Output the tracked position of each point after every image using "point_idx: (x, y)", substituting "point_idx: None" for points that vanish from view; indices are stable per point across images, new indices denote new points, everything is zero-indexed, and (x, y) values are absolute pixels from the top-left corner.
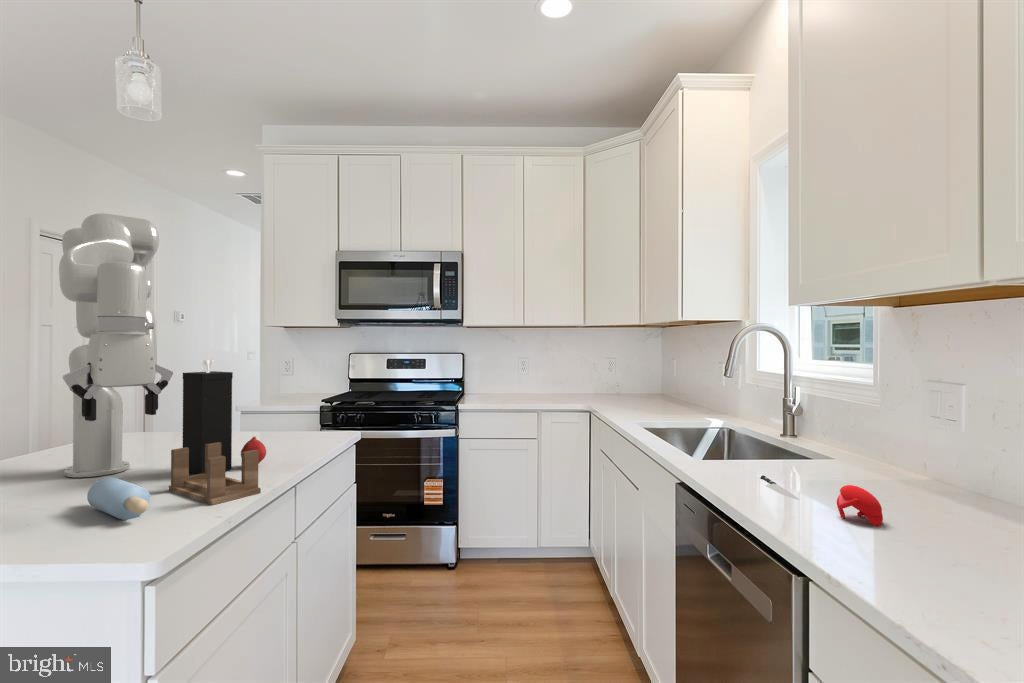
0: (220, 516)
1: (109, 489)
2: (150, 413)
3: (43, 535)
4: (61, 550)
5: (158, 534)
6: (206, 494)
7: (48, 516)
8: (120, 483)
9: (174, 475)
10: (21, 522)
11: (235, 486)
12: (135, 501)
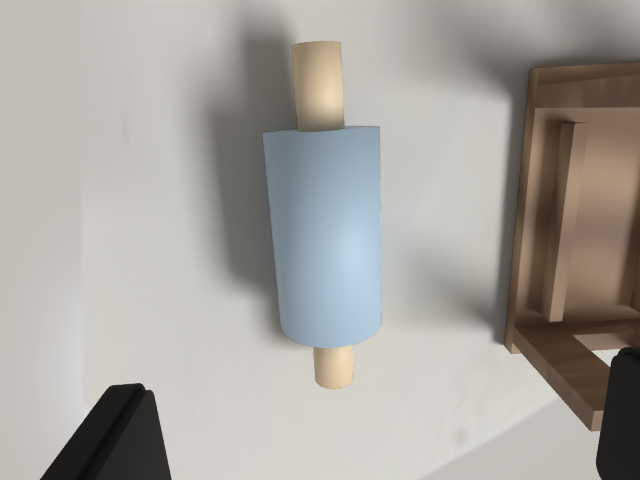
0: (463, 436)
1: (292, 275)
2: (604, 455)
3: (148, 270)
4: (166, 403)
5: (326, 449)
6: (537, 286)
7: (177, 80)
8: (325, 279)
9: (565, 106)
10: (111, 85)
11: (600, 349)
12: (324, 379)
